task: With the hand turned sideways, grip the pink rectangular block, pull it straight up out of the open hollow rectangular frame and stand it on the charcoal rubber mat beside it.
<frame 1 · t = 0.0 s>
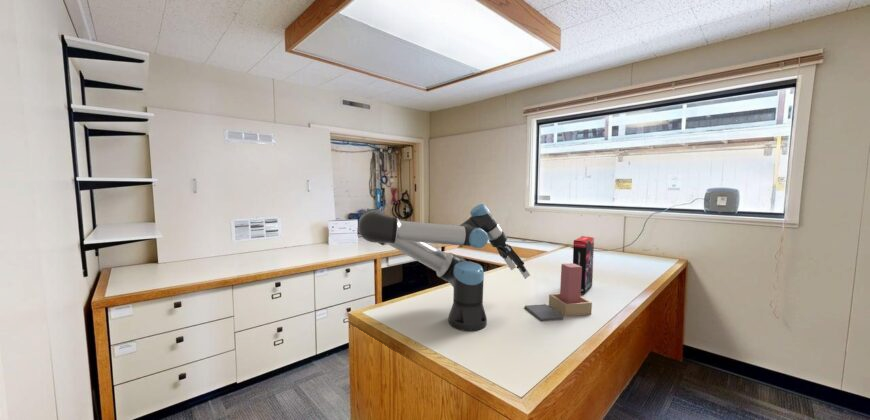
hand: (520, 272, 148), 15 cm above the table, tool tilted 35°, fingers open, 13 cm apart
hollow rectangular frame: (569, 309, 146), on the table
pink rectangular block: (570, 287, 145), in the hollow rectangular frame
rubber mat: (543, 313, 141), on the table
graphics card box: (581, 289, 173), on the table
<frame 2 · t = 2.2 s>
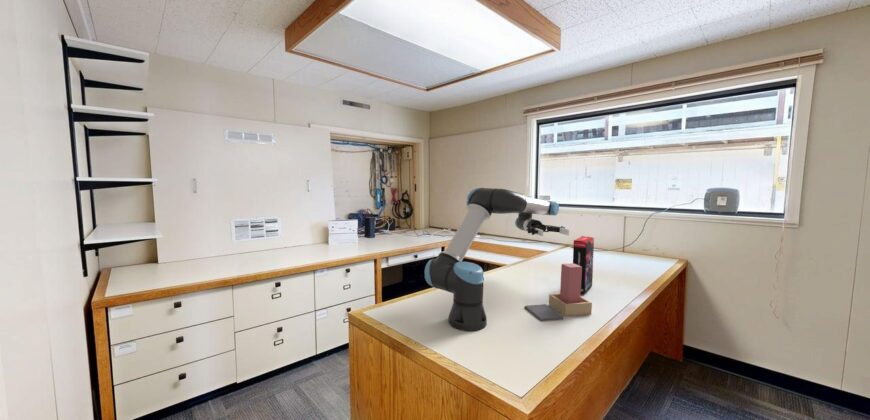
hand: (555, 232, 156), 32 cm above the table, tool horizontal, fingers open, 13 cm apart
nothing on the table moved.
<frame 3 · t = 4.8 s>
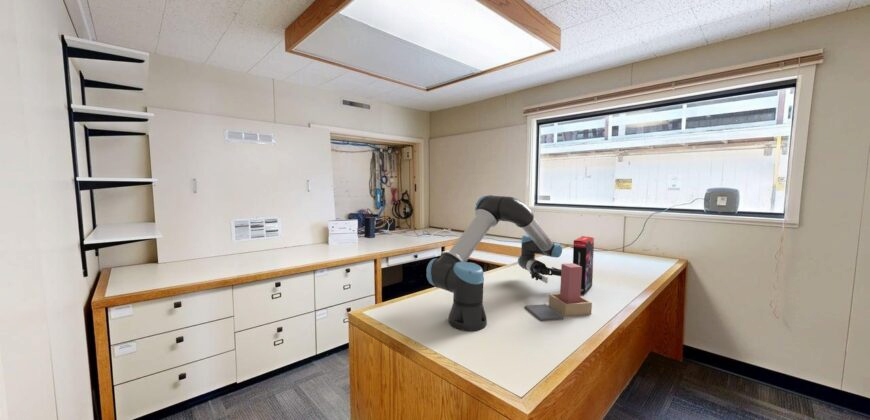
hand: (560, 279, 153), 11 cm above the table, tool horizontal, fingers open, 13 cm apart
nothing on the table moved.
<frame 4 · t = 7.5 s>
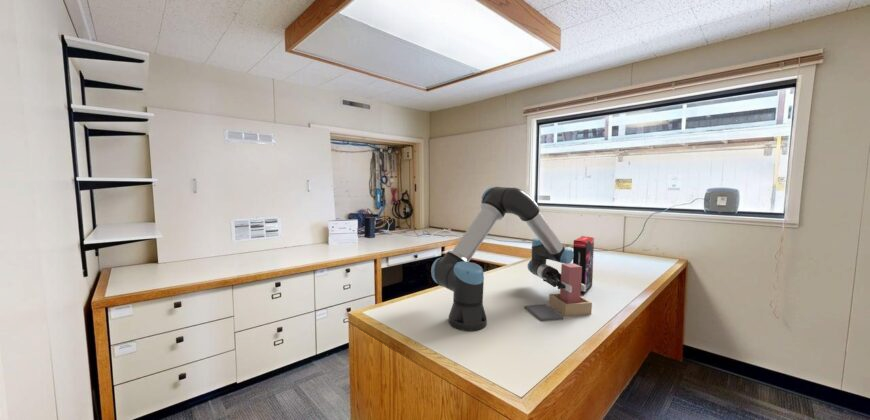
hand: (577, 288, 140), 11 cm above the table, tool horizontal, fingers closed on pink rectangular block, 6 cm apart
pink rectangular block: (570, 287, 145), in the hollow rectangular frame, touching gripper
everything else where it was.
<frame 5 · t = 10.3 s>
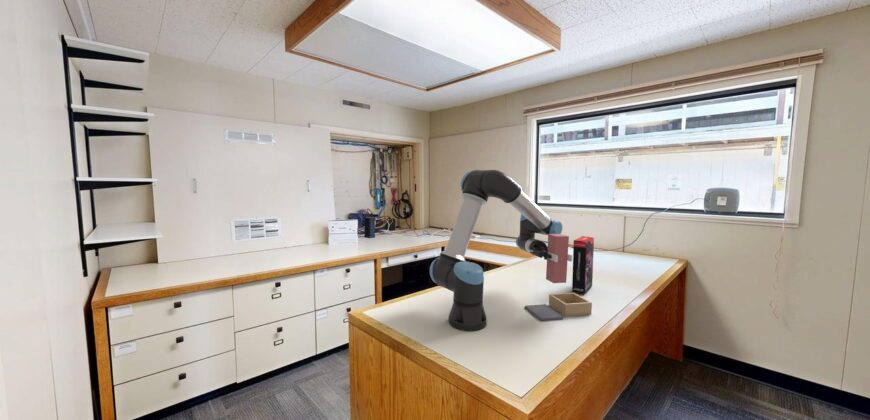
hand: (564, 258, 136), 25 cm above the table, tool horizontal, fingers closed on pink rectangular block, 6 cm apart
pink rectangular block: (557, 258, 141), point 24 cm above the table, touching gripper
everything else where it was.
when the fingers open (13 cm above the table, at t = 13.4 s): pink rectangular block stays where it is, resting on rubber mat.
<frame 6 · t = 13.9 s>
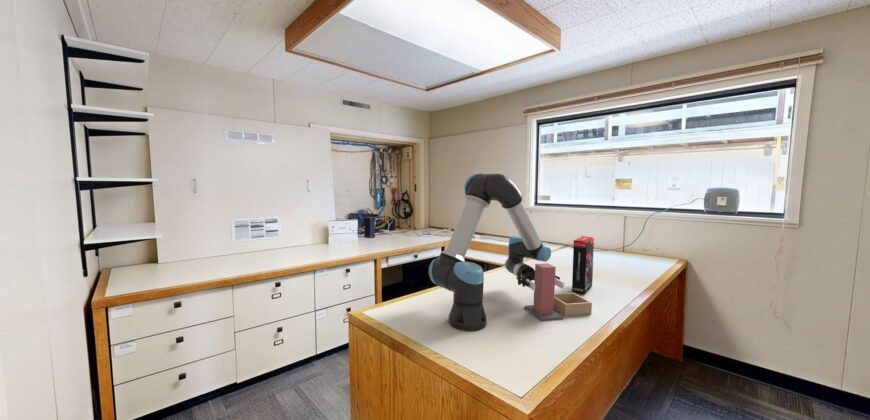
hand: (548, 286, 136), 13 cm above the table, tool horizontal, fingers open, 13 cm apart
pink rectangular block: (544, 288, 140), on the rubber mat, point 11 cm above the table
everything else where it was.
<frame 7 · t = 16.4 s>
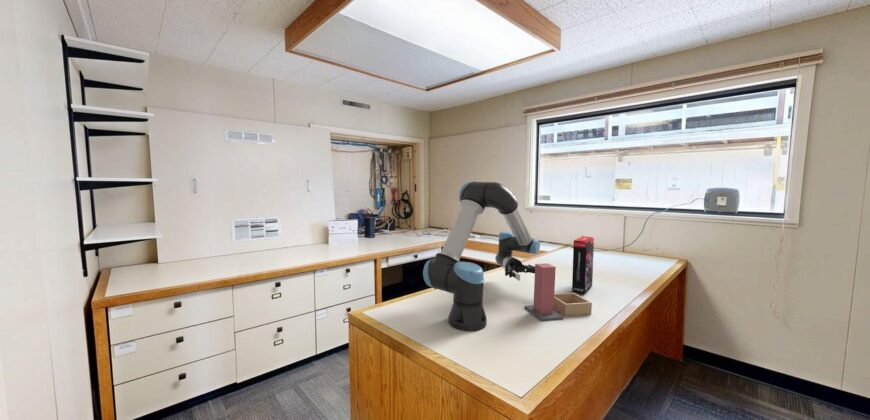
hand: (533, 276, 149), 13 cm above the table, tool horizontal, fingers open, 13 cm apart
nothing on the table moved.
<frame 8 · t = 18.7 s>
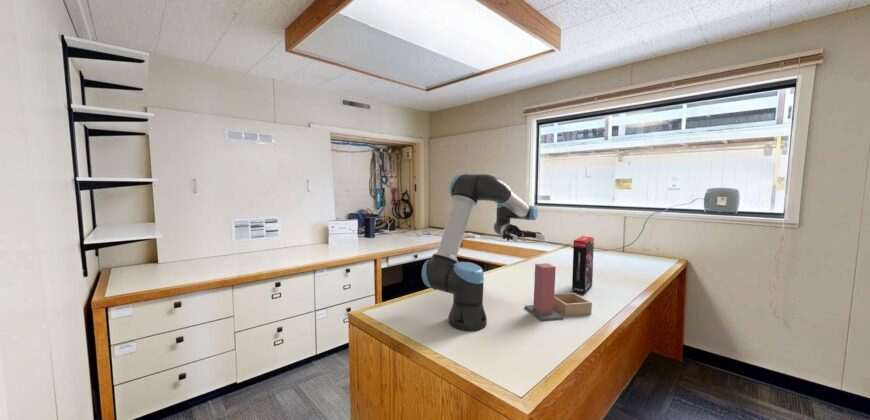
hand: (530, 238, 151), 30 cm above the table, tool horizontal, fingers open, 13 cm apart
nothing on the table moved.
at the end: pink rectangular block inside the target area on the rubber mat (0.0 cm from its centre), point 11.0 cm above the rubber mat's base; pink rectangular block tilted 0°; the gripper is holding nothing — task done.
